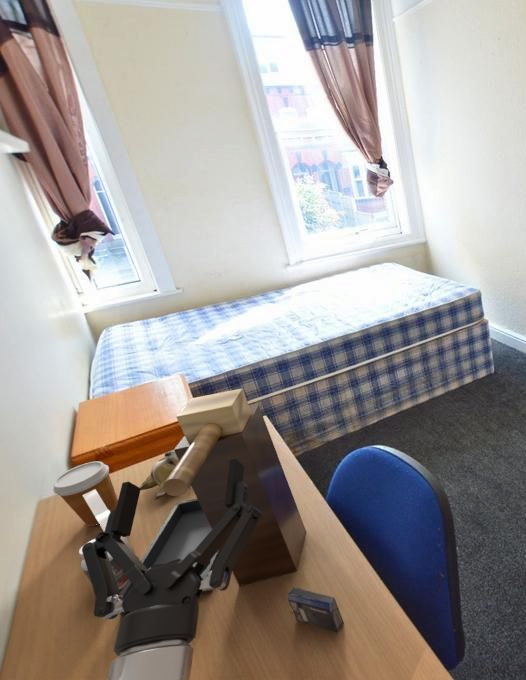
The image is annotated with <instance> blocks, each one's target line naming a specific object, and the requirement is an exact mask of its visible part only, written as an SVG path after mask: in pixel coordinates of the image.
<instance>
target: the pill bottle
mask: <svg viewBox="0 0 526 680" xmlns="http://www.w3.org/2000/svg"><path fill="white" fill-rule="evenodd" d="M95 541H96V540H95V538H93V539H91V540H89V541H88V542H91V543H93V542H95ZM83 546H84V545H82V546H81V547H80V548H79V550H78V555H79V556H80V558H81V559H82V560H81V563H80V567H81V569H82V571H83V572H84V575H85V576H86V577H87V579H88V580H89V582H90V583H91V579H90V576H89V573H88V569H87V566H86V562H85V559H84V556H83V552H82V548H83ZM107 554H108V557H109V561H110V564H111V567H112V570H113V573H114V576H115V579H116V582H117V585H118V588H119V591H120V590H123V588H124V586H125V585H126V583H127V582H128V580H129V579H128V578H127V577H126V575H125V574H126V573H125V572H124V571H123V569H122V568H121V567H120V566H119V565H118V563H117V562H116V561H115V560H114V559H113V558H112V556H111V555H110V554H109V553H108V552H107Z"/></svg>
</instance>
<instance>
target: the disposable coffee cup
mask: <svg viewBox="0 0 526 680" xmlns="http://www.w3.org/2000/svg"><path fill="white" fill-rule="evenodd" d="M52 486H53V489H52V492H53V493H54V494H56V495H57V496H60V498H62V499H63V501H64V502H65V503H66V504H67V505H68V506H69V507H70V509H72V511H73V512H74V513H75V514H76V515H77V516H78V517H79V518H80V519H81V520H82V522H84V523H85V525H86V524H87V525H96V524H99V523H98V521H97V519H96V518H95V516H94V514H93V512H92V511H91V509H90V507H89V506H88V504H87V502H86V501H85V499H84V497H83V496H82V495H84V494H86V493H88V492H90V491H92V490H94V489H96V491H97V492H98V494H99V496H100V497H101V499H102V501H103V502H104V504H105V505H106V507H107V509H108V510H109V511H110V512H111V511H113V510H116V506H117V503H118V499H119V498H118V496H117V492H116V490H115V488H114V485H113V482H112V479H111V476H110V467H109V465H107V464H105V463H104V462H103V461H100V460H99V461H98V460H97V461H90V462H86V463H83V464H80V465H76V466H74V467H73V468H71V469H69V470H67V471H65V472H64V473H62V474H60V475H59V476H58V477H56V479H55V480H54V481H53V483H52ZM87 525H86V526H87Z"/></svg>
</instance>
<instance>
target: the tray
mask: <svg viewBox="0 0 526 680" xmlns="http://www.w3.org/2000/svg"><path fill="white" fill-rule="evenodd" d="M211 530H212V528H211V526H210V524H209V522H208V520H207V518H206V516H205V514H204V512H203V509H202V507H201V505H200V503H199V501H198V499H197V497H195V498H193V499H187V500H184V501H179V502H176V503H175V505H174V506H173V508H172V510H171V511H170V513H169V515H168V516H167V518H166V519H165V521H164V522H163V524H162V526H161V527H160V528H159V530H158V532H157V533H156V535H155V537H154V538H153V539H152V542H151V543H150V544H149V546H148V548H147V550H146V551H145V553H144V554H143V556H142V558H141V559H140V561H141V562H142V563H143V565H144V566H145V567H146V568H147V569H149V568H151V566H152V565H155V564H166V563H168V562H170V561H172V560H176V559H181V560H183V559H184V558H185V557H186V556H187V555H188V554H189V553H190V552H192V551H194V550H195V549H196V548H197V547H198V545H199V544H200V543H201V542H202V541H203V539H204V538H205V537H206V536H207V535H208V534H209V532H210V531H211ZM221 551H222V549H221V548H220V549H219V550H218V551H217V553H216V554H215V555H214V556H213V557H212V559H211V561H210V564H209V566H208V567H207V568H206V569H205V570H204V572H203V573H202V574H201V575H200V576H201V577H202V579H203V580H204V579H205V578H206V577H207V573H208V572H209V571H212V569H213V566H214V564H215V562H216V560H217V558H218V556H219V554H220V553H221ZM196 564H197V563H194V564H193V566H195V565H196ZM133 587H134V585H133V584H132V583H131V581H130V580H128V582H127V583H126V585H125V586H124V587H123V588H122V589H121V591H120V596H122V597H123V599H124V598H125V596H126V595H127V594H128V593H129V591H130V590H131V589H132V588H133ZM211 593H213V590H206V591H203V592H202V594H201V596H203V595H208V594H211ZM119 615H120V616H121V617H124V612H121V613H119Z"/></svg>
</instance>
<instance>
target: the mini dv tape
mask: <svg viewBox="0 0 526 680" xmlns="http://www.w3.org/2000/svg"><path fill="white" fill-rule="evenodd" d="M286 596H287V597H286V598H287V601H288V603H289V606H290V608H291V610H292V612H293V615H294V617H295V620H296V621H297V622H299V623H303V624H307V625H309V626H314V627H317V628H321V629H325V630H328V631H333V632H336V633H339V631H340V630H341V628H342V627H343V626H344V625H345V624H344V623H345V621H344V619H343V617H342V614H341V612H340V608H339V606H338V603H337V600H336V598H335V597H334V596H331V595H326V594H323V593H318V592H313V591H310V590H305V589H301V588H298V587H291V589H290V591H288V593H287V594H286Z"/></svg>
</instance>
